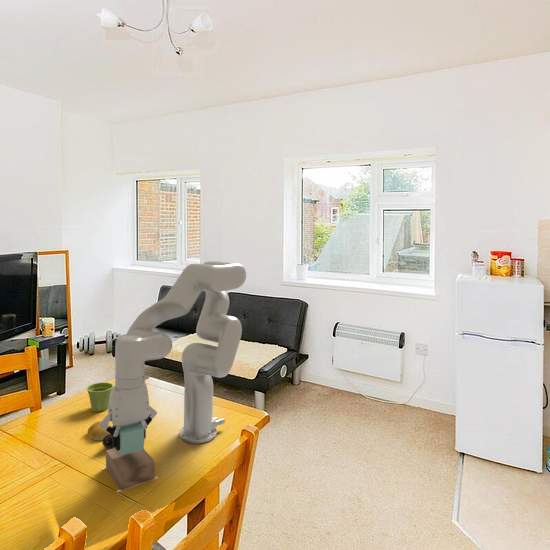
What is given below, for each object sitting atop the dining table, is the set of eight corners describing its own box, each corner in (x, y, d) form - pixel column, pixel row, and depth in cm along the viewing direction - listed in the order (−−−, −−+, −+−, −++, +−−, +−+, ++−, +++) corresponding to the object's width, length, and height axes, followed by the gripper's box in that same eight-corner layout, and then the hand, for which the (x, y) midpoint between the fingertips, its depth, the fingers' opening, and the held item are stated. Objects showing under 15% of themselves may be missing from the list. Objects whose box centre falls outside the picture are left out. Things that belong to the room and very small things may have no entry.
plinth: (137, 457, 123) (137, 441, 122) (154, 478, 112) (154, 461, 112) (106, 467, 117) (105, 450, 116) (121, 490, 107) (121, 472, 106)
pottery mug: (121, 437, 138) (134, 417, 137) (136, 458, 133) (149, 438, 132) (90, 443, 127) (103, 422, 126) (105, 466, 122) (119, 444, 122)
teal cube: (136, 439, 118) (136, 419, 117) (143, 448, 113) (144, 427, 113) (114, 445, 114) (114, 425, 114) (121, 455, 109) (121, 433, 109)
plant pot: (101, 415, 152) (101, 393, 151) (81, 411, 154) (80, 389, 154) (118, 406, 160) (118, 384, 160) (98, 402, 163) (98, 381, 162)
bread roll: (93, 444, 132) (93, 432, 132) (85, 433, 139) (84, 422, 138) (119, 436, 137) (119, 425, 137) (110, 426, 144) (110, 415, 144)
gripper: (154, 372, 120) (153, 431, 122) (92, 383, 110) (92, 448, 111) (165, 379, 114) (164, 441, 116) (100, 392, 104) (100, 460, 105)
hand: (129, 444), depth 114 cm, fingers closed on teal cube, 6 cm apart
